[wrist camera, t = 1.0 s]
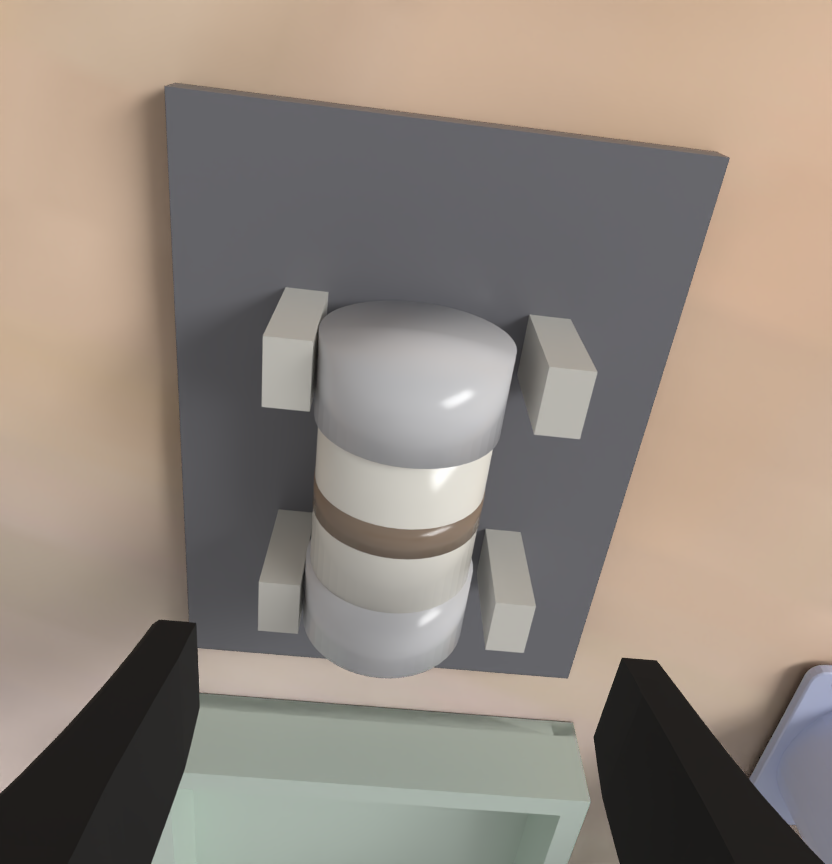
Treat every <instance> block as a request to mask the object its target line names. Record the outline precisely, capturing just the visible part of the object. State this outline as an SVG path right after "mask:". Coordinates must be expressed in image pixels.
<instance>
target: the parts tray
mask: <svg viewBox="0 0 832 864" xmlns="http://www.w3.org/2000/svg"><path fill="white" fill-rule="evenodd" d="M199 699H200V709H199V713H198V717H197V722H196V726H195V730H194V734H193V739H192V743H191V747H190V751H189V755H188V759H187V763H186V767H185V770H184V773H183V776H182V779H181V782H180V785H179V787H178V790H177V793H176V796H175V799H174V802H173V804H172V807H171V810H170V813H169V816H168V818H167V821H166V824H165V827H164V830H163V832H162V835H161V838H160V841H159V843H158V846H157V849H156V852H155V855H154V857H153V860H152V863H151V864H568V861H569V858H570V856H571V853H572V850H573V848H574V845H575V842H576V840H577V837H578V835H579V832H580V829H581V827H582V824H583V821H584V819H585V816H586V813H587V811H588V808H589V805H590V803H591V801H590V796H589V792H588V787H587V783H586V779H585V774H584V770H583V765H582V761H581V756H580V752H579V747H578V743H577V738H576V734H575V729H574V725H573V723H571V722H558V721H545V720H533V719H520V718H507V717H495V716H482V715H469V714H456V713H444V712H431V711H418V710H406V709H393V708H380V707H367V706H355V705H342V704H329V703H317V702H304V701H291V700H279V699H266V698H253V697H240V696H228V695H215V694H202V693H199Z"/></svg>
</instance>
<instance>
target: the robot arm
mask: <svg viewBox="0 0 832 864" xmlns="http://www.w3.org/2000/svg"><path fill="white" fill-rule="evenodd" d="M199 709H200V699H199V674H198V649H197V624H196V623H193V622H181V621H169V620H158V621H157V622H155V623H154V624H152V626H151V627H150V628H149V630H148V631H147V632H146V634H145V635H144V636H143V638H142V639H141V640H140V642H139V643H138V644H137V645H136V647H135V648H134V649H133V651H132V652H131V653H130V654H129V656H128V657H127V658H126V659H125V660H124V662H123V663H122V664H121V665H120V667H119V668H118V669H117V670H116V671H115V673H114V674H113V675H112V676H111V677H110V679H109V680H108V681H107V682H106V683H105V684H104V686H103V687H102V688H101V689H100V690H99V691H98V692H97V694H96V695H95V696H94V697H93V698H92V699H91V700H90V701H89V703H88V704H87V705H86V706H85V707H84V708H83V709H82V710H81V712H80V713H79V714H78V715H77V716H76V717H75V718H74V719H73V721H72V722H71V723H70V724H69V725H68V726H67V727H66V728H65V729H64V730H63V731H62V732H61V733H60V734H59V735H58V737H57V738H56V739H55V740H54V741H53V742H52V743H51V744H50V745H49V746H48V747H47V748H46V749H45V750H44V751H43V752H42V753H41V754H40V755H39V756H38V757H37V758H36V759H35V760H34V761H33V762H32V763H31V764H30V765H29V766H28V767H27V768H26V769H25V770H24V771H23V772H22V773H21V774H20V775H19V776H18V777H17V778H16V779H15V780H14V781H13V782H12V783H11V784H10V785H9V786H8V787H7V788H6V789H5V790H3V791H2V792H1V793H0V864H151V863H152V860H153V857H154V855H155V852H156V849H157V846H158V843H159V841H160V838H161V835H162V832H163V830H164V827H165V824H166V821H167V818H168V816H169V813H170V810H171V807H172V804H173V802H174V799H175V796H176V793H177V790H178V787H179V785H180V782H181V779H182V776H183V773H184V770H185V767H186V763H187V759H188V755H189V751H190V747H191V743H192V739H193V734H194V730H195V726H196V722H197V717H198V713H199ZM594 743H595V751H596V758H597V766H598V773H599V779H600V785H601V792H602V798H603V802H604V806H605V810H606V814H607V818H608V821H609V825H610V829H611V833H612V836H613V840H614V844H615V848H616V852H617V855H618V859H619V863H620V864H832V665H818V666H814V667H812V668H811V669H809V670H808V671H807V673H806V674H805V675H804V677H803V679H802V681H801V683H800V685H799V687H798V689H797V690H796V692H795V694H794V696H793V698H792V700H791V702H790V704H789V705H788V707H787V709H786V711H785V713H784V715H783V717H782V718H781V720H780V722H779V724H778V726H777V728H776V730H775V732H774V733H773V735H772V737H771V739H770V741H769V743H768V745H767V747H766V748H765V750H764V752H763V754H762V756H761V758H760V760H759V762H758V763H757V765H756V767H755V769H754V771H753V773H752V775H751V777H750V778H749V779H748V777H747V776H746V775H745V774H744V772H743V771H742V770H741V769H740V767H739V766H738V765H737V764H736V763H735V761H734V760H733V759H732V758H731V756H730V755H729V754H728V753H727V751H726V750H725V749H724V748H723V746H722V745H721V744H720V743H719V741H718V740H717V739H716V738H715V736H714V735H713V734H712V732H711V731H710V730H709V729H708V727H707V726H706V725H705V723H704V722H703V721H702V719H701V718H700V717H699V715H698V714H697V713H696V712H695V710H694V709H693V708H692V706H691V705H690V704H689V702H688V701H687V700H686V698H685V697H684V696H683V694H682V693H681V692H680V690H679V689H678V688H677V686H676V685H675V684H674V683H673V681H672V680H671V679H670V677H669V676H668V675H667V673H666V672H665V671H664V669H663V668H662V667H661V666H660V664H659V663H658V662H657V661H656V660H643V659H631V658H622V659H621V662H620V665H619V667H618V670H617V673H616V676H615V679H614V681H613V684H612V687H611V690H610V693H609V695H608V698H607V701H606V704H605V707H604V709H603V712H602V715H601V718H600V721H599V723H598V726H597V729H596V732H595V735H594ZM789 825H796V827H797V829H798V831H799V833H800V835H801V837H802V839H803V840H802V839H801V838H800V837H799V836H798V835H797V834H796V833H795V831H794V830H793V829H792V828H791V827H790V826H789Z"/></svg>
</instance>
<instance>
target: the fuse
mask: <svg viewBox="0 0 832 864" xmlns="http://www.w3.org/2000/svg"><path fill="white" fill-rule="evenodd" d="M516 354H517V348H516V345H515V343H514V341H513V339H512V338H511V337H510V336H509V335H508V334H507V333H506V332H505V331H504V330H502V329H501V328H499V327H498V326H496V325H494V324H493V323H491V322H489V321H487V320H485V319H483V318H480V317H478V316H475V315H473V314H470V313H467V312H464V311H461V310H457V309H453V308H449V307H445V306H440V305H435V304H429V303H422V302H412V301H370V302H362V303H356V304H352V305H348V306H344V307H342V308H339V309H336V310H334V311H332V312H331V313H329V314H328V315H326V316H325V317H324V318H323V319H322V321H321V323H320V325H319V336H318V354H317V372H316V389H315V407H314V417H315V422H316V424H317V426H318V434H317V451H316V467H315V472H314V487H313V518H312V535H311V539H310V541H309V544H308V547H307V552H306V567H305V585H304V603H303V624H304V628H305V631H306V634H307V636H308V638H309V640H310V641H311V643H312V644H313V646H314V647H315V648H316V649H317V650H318V651H319V652H320V653H321V654H322V655H323V656H324V657H325V658H327V659H328V660H329V661H331V662H333V663H334V664H336V665H337V666H339V667H341V668H344V669H346V670H348V671H351V672H354V673H356V674H360V675H364V676H369V677H376V678H401V677H407V676H412V675H416V674H419V673H422V672H425V671H427V670H429V669H432V668H433V667H435V666H437V665H438V664H440V663H441V662H442V661H444V660H445V659H446V658H447V657H448V656H449V655H450V654H451V653H452V651H453V650H454V648H455V647H456V645H457V643H458V640H459V638H460V633H461V628H462V623H463V618H464V613H465V608H466V603H467V598H468V593H469V588H470V583H471V578H472V573H473V563H472V553H473V548H474V542H475V537H476V532H477V528H478V526H479V521H480V516H481V511H482V506H483V501H484V496H485V487H486V482H487V477H488V471H489V466H490V461H491V456H492V451H493V449H494V447H495V446H496V445H497V443H498V441H499V439H500V434H501V429H502V424H503V419H504V414H505V409H506V404H507V399H508V394H509V389H510V384H511V379H512V374H513V369H514V364H515V359H516Z"/></svg>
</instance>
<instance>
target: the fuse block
mask: <svg viewBox="0 0 832 864" xmlns="http://www.w3.org/2000/svg"><path fill="white" fill-rule="evenodd" d="M165 106H166V128H167V150H168V172H169V194H170V215H171V237H172V259H173V281H174V303H175V325H176V346H177V368H178V390H179V412H180V434H181V456H182V478H183V499H184V521H185V543H186V565H187V587H188V609H189V622H193V623H196V624H197V648H203V649H216V650H228V651H240V652H252V653H264V654H276V655H289V656H301V657H313V658H325V657H324V656H323V655H322V654H321V653H320V652H319V651H318V650H317V649H316V648H315V647H314V646H313V644H312V643H311V641H310V640H309V638H308V636H307V634H306V631H305V628H304V624H303V603H304V585H305V567H306V552H307V547H308V544H309V541H310V539H311V535H312V518H313V487H314V472H315V467H316V451H317V434H318V426H317V424H316V422H315V417H314V407H315V389H316V372H317V354H318V336H319V325H320V323H321V321H322V319H323V318H324V317H325V316H326V315H328V314H329V313H331V312H332V311H334V310H336V309H339V308H342V307H344V306H348V305H352V304H356V303H362V302H370V301H412V302H422V303H429V304H435V305H440V306H445V307H449V308H453V309H457V310H461V311H464V312H467V313H470V314H473V315H475V316H478V317H480V318H483V319H485V320H487V321H489V322H491V323H493V324H494V325H496V326H498V327H499V328H501V329H502V330H504V331H505V332H506V333H507V334H508V335H509V336H510V337H511V338H512V339H513V341H514V343H515V345H516V348H517V354H516V359H515V364H514V369H513V374H512V379H511V384H510V389H509V394H508V399H507V404H506V409H505V414H504V419H503V424H502V429H501V434H500V439H499V441H498V443H497V445H496V446H495V447H494V449H493V451H492V456H491V461H490V466H489V471H488V477H487V482H486V487H485V496H484V501H483V506H482V511H481V516H480V521H479V526H478V528H477V532H476V537H475V542H474V548H473V553H472V563H473V573H472V578H471V583H470V588H469V593H468V598H467V603H466V608H465V613H464V618H463V623H462V628H461V633H460V638H459V640H458V643H457V645H456V647H455V648H454V650H453V651H452V653H451V654H450V655H449V656H448V657H447V658H446V659H445V660H444V661H442V662H441V663H440V664H438V665H437V666H435V667H434V668H446V669H459V670H471V671H483V672H495V673H507V674H519V675H532V676H544V677H556V678H568V676H569V673H570V670H571V667H572V663H573V660H574V657H575V654H576V651H577V647H578V644H579V641H580V638H581V634H582V631H583V628H584V625H585V622H586V618H587V615H588V612H589V609H590V606H591V602H592V599H593V596H594V593H595V589H596V586H597V583H598V580H599V577H600V573H601V570H602V567H603V564H604V561H605V557H606V554H607V551H608V548H609V544H610V541H611V538H612V535H613V532H614V528H615V525H616V522H617V519H618V516H619V512H620V509H621V506H622V503H623V499H624V496H625V493H626V490H627V487H628V483H629V480H630V477H631V474H632V471H633V467H634V464H635V461H636V458H637V455H638V451H639V448H640V445H641V442H642V438H643V435H644V432H645V429H646V426H647V422H648V419H649V416H650V413H651V410H652V406H653V403H654V400H655V397H656V393H657V390H658V387H659V384H660V381H661V377H662V374H663V371H664V368H665V365H666V361H667V358H668V355H669V352H670V348H671V345H672V342H673V339H674V336H675V332H676V329H677V326H678V323H679V320H680V316H681V313H682V310H683V307H684V303H685V300H686V297H687V294H688V291H689V287H690V284H691V281H692V278H693V275H694V271H695V268H696V265H697V262H698V258H699V255H700V252H701V249H702V246H703V242H704V239H705V236H706V233H707V230H708V226H709V223H710V220H711V217H712V213H713V210H714V207H715V204H716V201H717V197H718V194H719V191H720V188H721V185H722V181H723V178H724V175H725V172H726V168H727V165H728V162H729V159H730V158H729V157H727V156H725V155H723V154H720V153H718V152H714V151H707V150H699V149H691V148H683V147H675V146H667V145H659V144H652V143H644V142H636V141H628V140H620V139H612V138H604V137H597V136H589V135H581V134H573V133H565V132H557V131H550V130H542V129H534V128H526V127H518V126H510V125H502V124H495V123H487V122H479V121H471V120H463V119H455V118H447V117H440V116H432V115H424V114H416V113H408V112H400V111H392V110H385V109H377V108H369V107H361V106H353V105H345V104H337V103H330V102H322V101H314V100H306V99H298V98H290V97H282V96H275V95H267V94H259V93H251V92H243V91H235V90H227V89H220V88H212V87H204V86H196V85H188V84H180V83H173V84H170V85H167V86H165ZM325 659H327V658H325Z"/></svg>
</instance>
